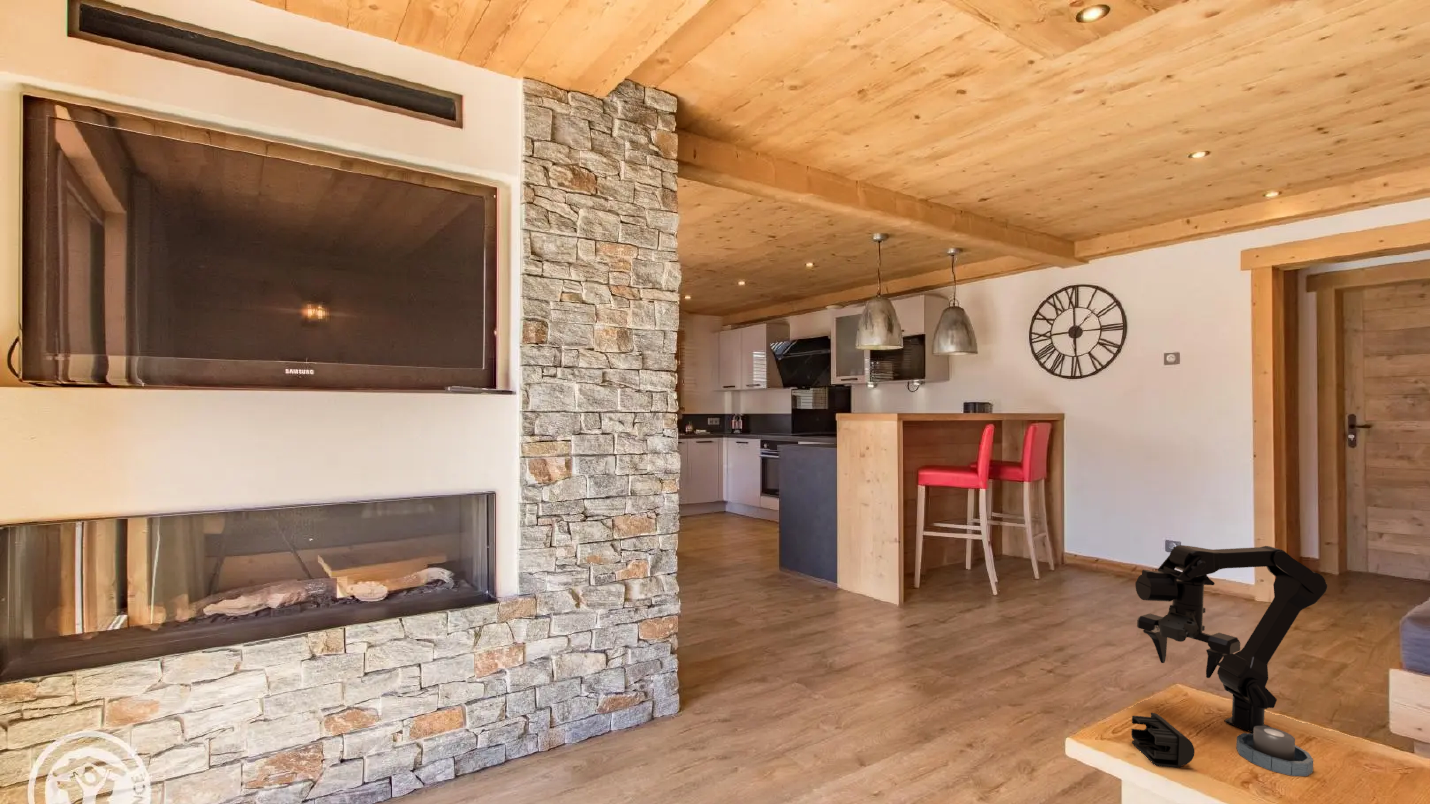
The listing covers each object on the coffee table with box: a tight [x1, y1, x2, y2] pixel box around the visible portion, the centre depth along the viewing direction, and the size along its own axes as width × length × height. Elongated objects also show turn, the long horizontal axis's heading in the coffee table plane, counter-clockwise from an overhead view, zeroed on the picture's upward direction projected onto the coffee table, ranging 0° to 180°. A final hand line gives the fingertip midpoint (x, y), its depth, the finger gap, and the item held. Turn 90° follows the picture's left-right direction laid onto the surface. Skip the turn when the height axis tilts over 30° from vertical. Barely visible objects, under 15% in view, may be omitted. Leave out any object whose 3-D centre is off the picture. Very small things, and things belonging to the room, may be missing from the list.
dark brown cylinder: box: [1253, 726, 1296, 761], centre depth 134 cm, size 6×6×5 cm
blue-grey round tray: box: [1236, 732, 1314, 777], centre depth 134 cm, size 12×12×2 cm
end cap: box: [1130, 712, 1195, 769], centre depth 134 cm, size 10×7×7 cm
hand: (1184, 669), depth 149 cm, fingers open, 9 cm apart
